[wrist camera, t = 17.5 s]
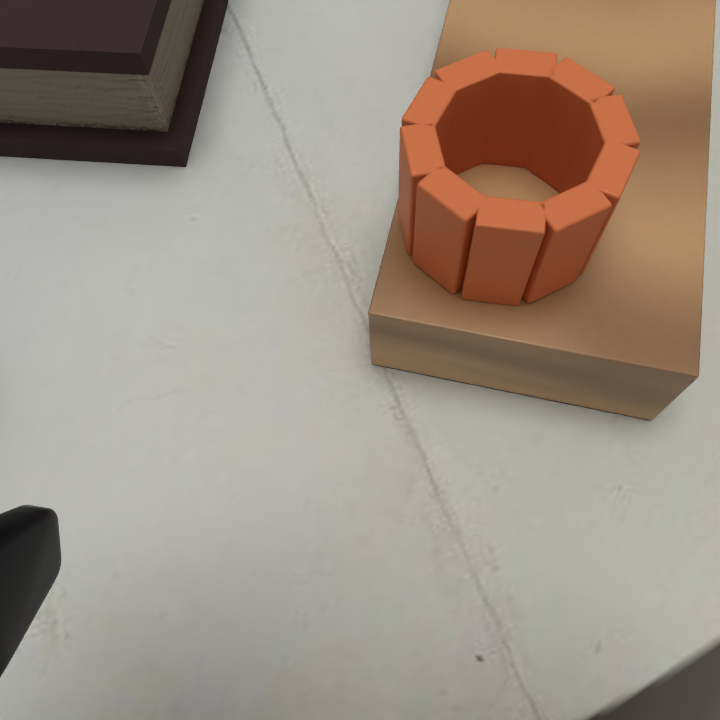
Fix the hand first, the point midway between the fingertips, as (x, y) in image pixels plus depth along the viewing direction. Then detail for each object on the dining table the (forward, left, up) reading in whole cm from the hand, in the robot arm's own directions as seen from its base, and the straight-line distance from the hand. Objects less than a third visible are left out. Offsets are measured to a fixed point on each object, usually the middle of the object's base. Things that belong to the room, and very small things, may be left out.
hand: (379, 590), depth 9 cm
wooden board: (+18, -20, -14) cm, 30 cm away
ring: (+9, -10, -10) cm, 16 cm away
